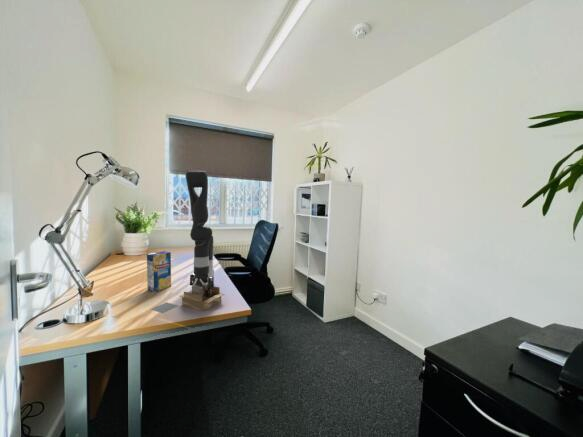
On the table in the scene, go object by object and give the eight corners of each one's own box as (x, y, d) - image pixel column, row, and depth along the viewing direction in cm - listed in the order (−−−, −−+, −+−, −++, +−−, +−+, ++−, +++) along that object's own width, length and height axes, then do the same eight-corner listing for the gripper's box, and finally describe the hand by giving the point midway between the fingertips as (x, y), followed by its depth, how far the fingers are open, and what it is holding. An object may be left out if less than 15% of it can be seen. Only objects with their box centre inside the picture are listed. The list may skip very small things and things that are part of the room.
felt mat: (166, 303, 122) (166, 302, 122) (178, 306, 118) (178, 305, 118) (150, 310, 113) (150, 309, 113) (162, 314, 110) (162, 313, 110)
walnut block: (204, 299, 127) (204, 281, 126) (211, 300, 125) (211, 282, 124) (191, 305, 118) (191, 286, 118) (199, 307, 116) (199, 288, 116)
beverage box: (147, 289, 140) (146, 254, 139) (164, 284, 150) (164, 251, 148) (153, 291, 137) (153, 255, 135) (171, 286, 146) (170, 252, 145)
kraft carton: (198, 296, 131) (198, 282, 131) (224, 302, 124) (224, 288, 123) (178, 305, 119) (178, 290, 119) (206, 313, 112) (206, 297, 111)
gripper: (217, 264, 121) (217, 295, 121) (197, 261, 126) (197, 290, 127) (206, 268, 114) (206, 300, 115) (185, 264, 119) (185, 295, 120)
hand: (201, 295), depth 121 cm, fingers open, 8 cm apart
